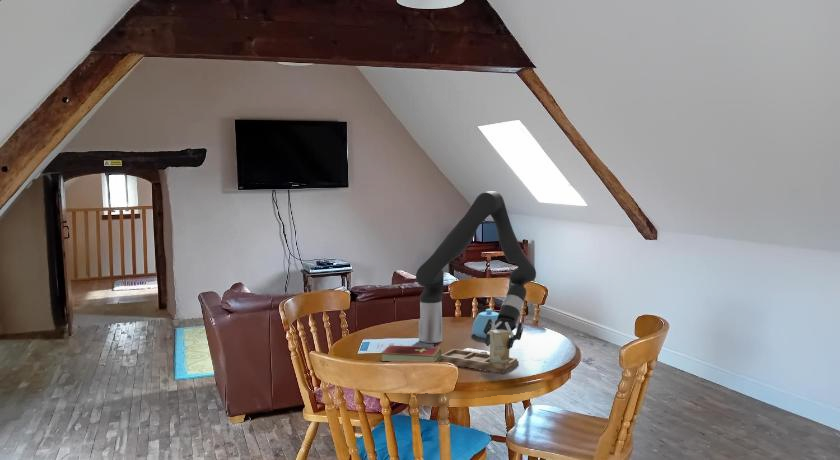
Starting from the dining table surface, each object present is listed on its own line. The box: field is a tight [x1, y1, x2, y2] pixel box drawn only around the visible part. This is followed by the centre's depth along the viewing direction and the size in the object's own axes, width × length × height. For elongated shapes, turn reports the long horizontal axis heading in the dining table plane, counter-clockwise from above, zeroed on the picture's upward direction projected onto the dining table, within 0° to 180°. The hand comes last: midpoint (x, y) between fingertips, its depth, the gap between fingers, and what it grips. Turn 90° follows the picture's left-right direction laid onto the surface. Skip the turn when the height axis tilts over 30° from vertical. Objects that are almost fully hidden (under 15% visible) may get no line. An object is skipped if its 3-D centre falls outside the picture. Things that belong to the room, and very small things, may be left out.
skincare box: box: [489, 329, 510, 365], centre depth 234 cm, size 6×4×12 cm
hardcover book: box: [380, 344, 442, 362], centre depth 248 cm, size 12×21×4 cm, turn 76°
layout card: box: [463, 347, 490, 354], centre depth 254 cm, size 12×7×1 cm, turn 57°
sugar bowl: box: [471, 308, 499, 339], centre depth 282 cm, size 15×15×12 cm
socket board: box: [438, 348, 520, 375], centre depth 239 cm, size 27×13×3 cm, turn 57°
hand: (497, 346), depth 233 cm, fingers open, 8 cm apart
